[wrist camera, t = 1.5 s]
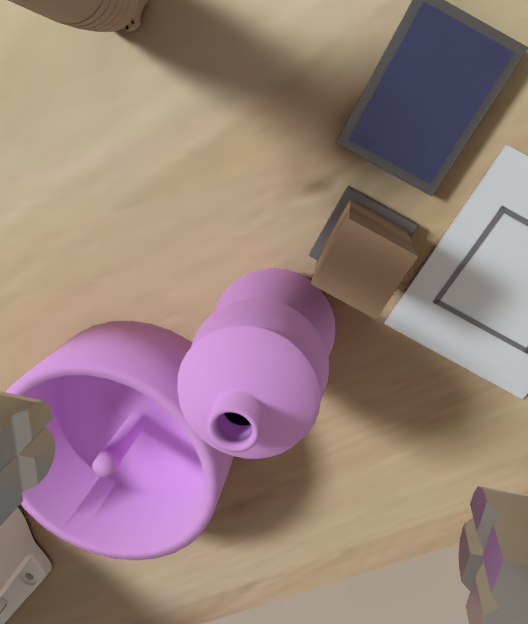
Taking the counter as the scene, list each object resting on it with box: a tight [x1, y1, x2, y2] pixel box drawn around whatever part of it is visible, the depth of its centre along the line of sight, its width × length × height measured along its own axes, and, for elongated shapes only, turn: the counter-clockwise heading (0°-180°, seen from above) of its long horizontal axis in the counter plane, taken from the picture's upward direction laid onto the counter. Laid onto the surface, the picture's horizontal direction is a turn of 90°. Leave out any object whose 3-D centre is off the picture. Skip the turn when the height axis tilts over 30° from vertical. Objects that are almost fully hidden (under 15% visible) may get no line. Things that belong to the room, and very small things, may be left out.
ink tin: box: [336, 0, 528, 196], centre depth 26 cm, size 8×6×1 cm
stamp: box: [309, 186, 418, 319], centre depth 26 cm, size 4×4×7 cm
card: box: [384, 145, 528, 399], centre depth 29 cm, size 12×10×1 cm
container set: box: [6, 268, 335, 560], centre depth 29 cm, size 25×15×13 cm, turn 131°
